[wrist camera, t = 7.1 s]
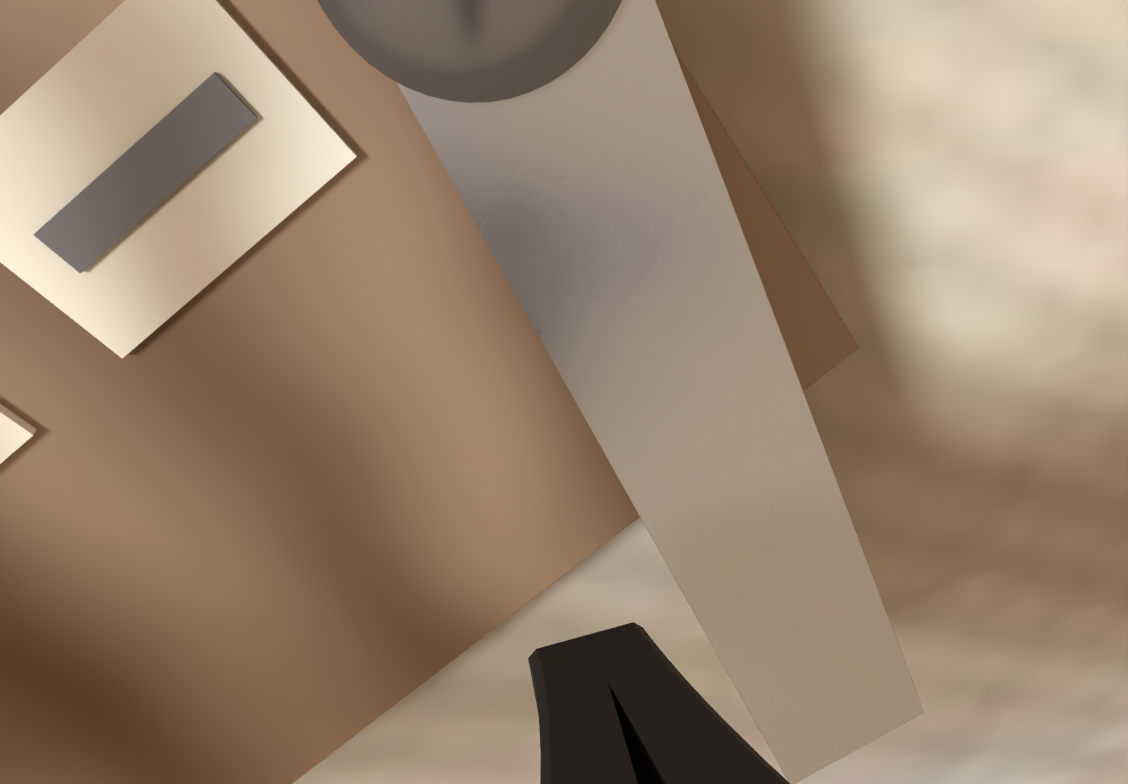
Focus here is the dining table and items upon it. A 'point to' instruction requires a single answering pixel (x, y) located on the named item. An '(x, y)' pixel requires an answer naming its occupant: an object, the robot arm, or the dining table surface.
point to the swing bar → (657, 335)
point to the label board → (267, 395)
